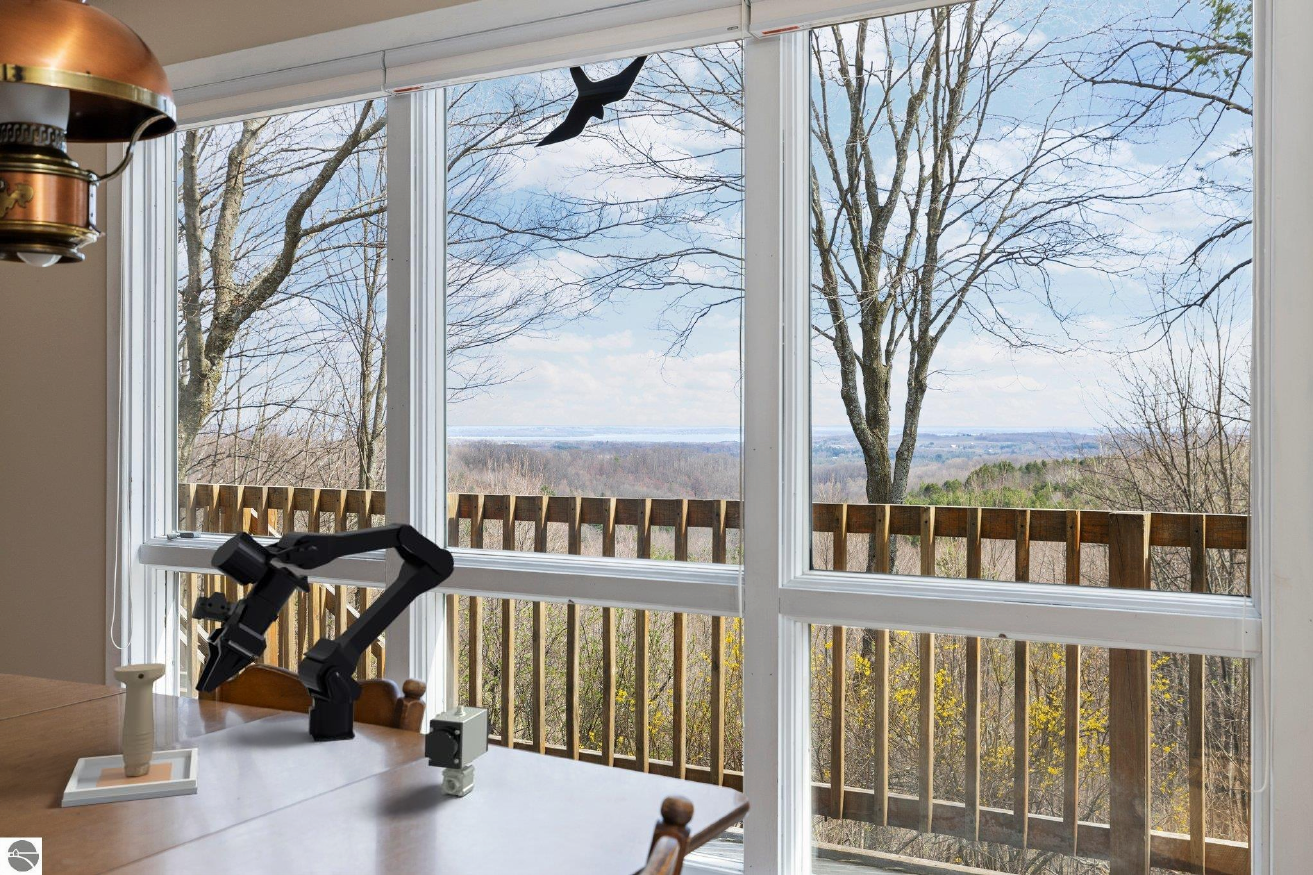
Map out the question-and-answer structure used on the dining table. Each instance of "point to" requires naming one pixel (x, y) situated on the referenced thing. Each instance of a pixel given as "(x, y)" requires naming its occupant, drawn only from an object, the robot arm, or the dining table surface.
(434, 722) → the pneumatic valve
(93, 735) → the dining table surface
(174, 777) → the white shallow tray
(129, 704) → the handle
